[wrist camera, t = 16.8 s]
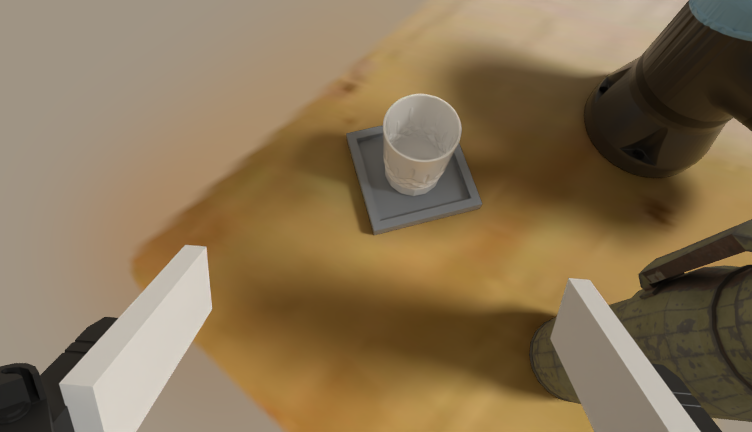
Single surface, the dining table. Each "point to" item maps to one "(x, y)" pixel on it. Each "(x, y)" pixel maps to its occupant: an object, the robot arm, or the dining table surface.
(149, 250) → the dining table surface
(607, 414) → the robot arm
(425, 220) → the charcoal tray
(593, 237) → the dining table surface
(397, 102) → the white cup
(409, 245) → the dining table surface
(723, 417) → the thermos
